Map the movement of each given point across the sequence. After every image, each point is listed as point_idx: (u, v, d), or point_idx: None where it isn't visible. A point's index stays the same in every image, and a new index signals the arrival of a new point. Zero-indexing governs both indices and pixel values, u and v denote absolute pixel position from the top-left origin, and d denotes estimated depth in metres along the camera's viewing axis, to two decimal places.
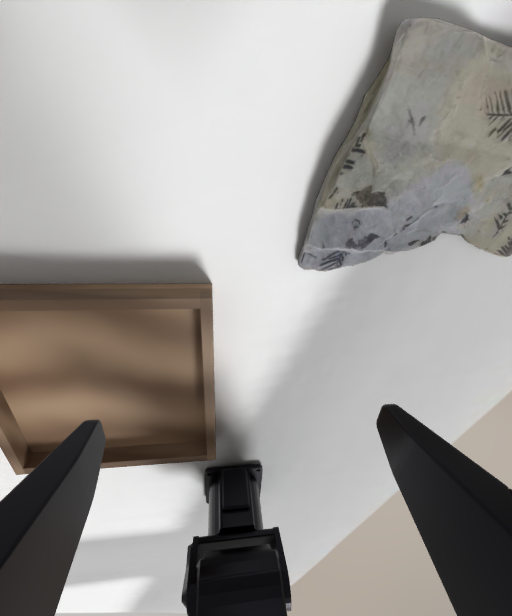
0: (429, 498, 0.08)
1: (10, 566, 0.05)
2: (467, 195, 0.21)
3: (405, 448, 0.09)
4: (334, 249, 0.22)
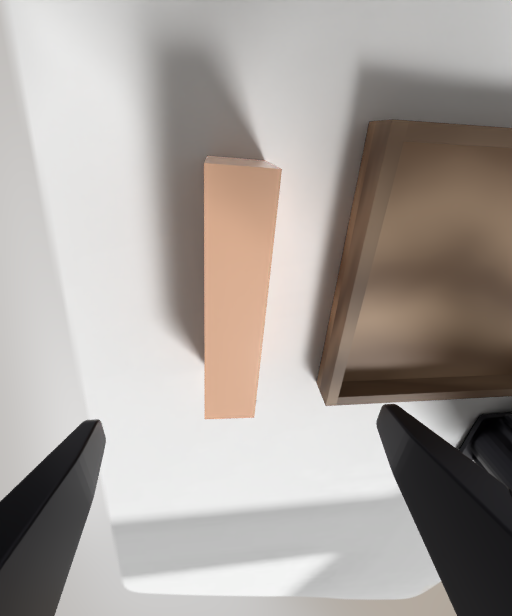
0: (429, 498, 0.08)
1: (10, 566, 0.05)
2: None
3: (405, 448, 0.09)
4: None
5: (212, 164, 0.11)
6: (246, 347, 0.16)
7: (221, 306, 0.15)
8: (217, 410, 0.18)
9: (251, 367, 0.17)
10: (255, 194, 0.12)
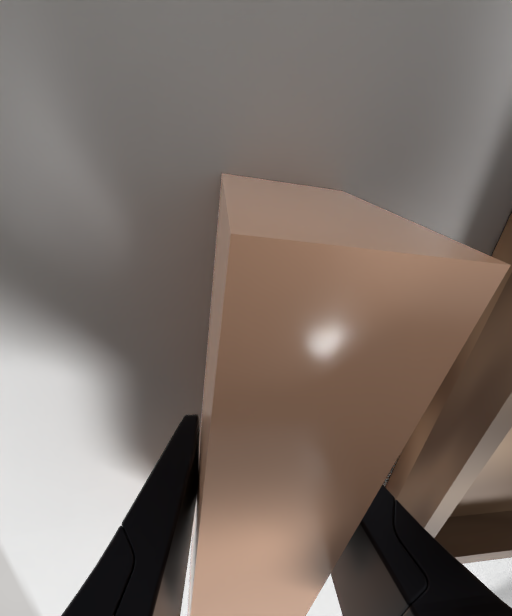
0: None
1: (172, 548, 0.06)
2: None
3: None
4: None
5: (264, 240, 0.03)
6: (284, 600, 0.07)
7: (238, 555, 0.06)
8: None
9: None
10: (395, 337, 0.04)
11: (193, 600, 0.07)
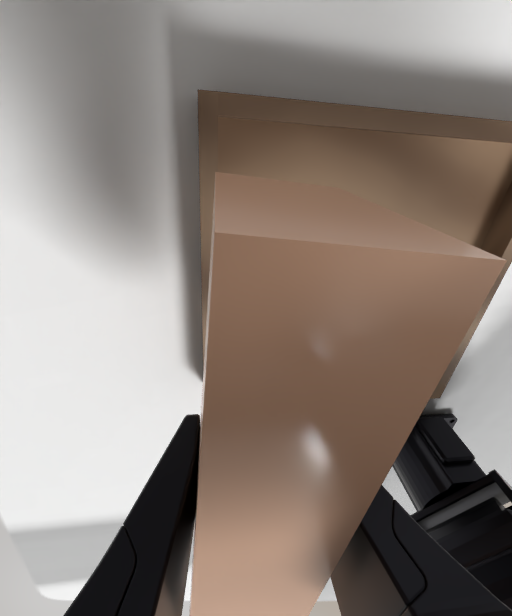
0: None
1: (174, 548, 0.06)
2: None
3: None
4: None
5: (249, 238, 0.03)
6: (285, 602, 0.07)
7: (236, 558, 0.06)
8: None
9: None
10: (389, 336, 0.03)
11: (192, 603, 0.07)
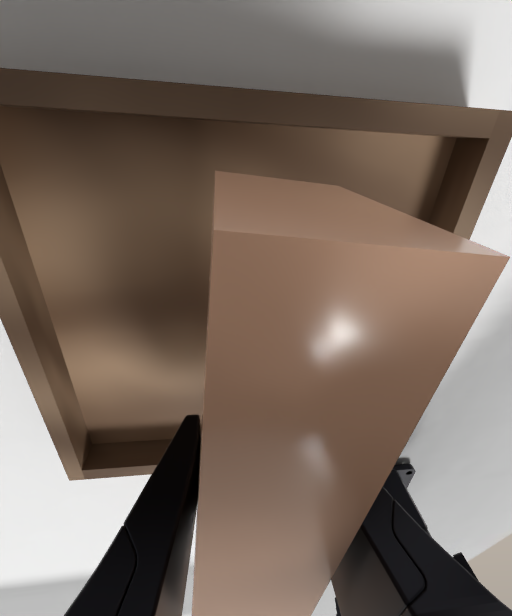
0: None
1: (174, 548, 0.06)
2: None
3: None
4: None
5: (249, 236, 0.03)
6: (287, 602, 0.07)
7: (238, 559, 0.06)
8: None
9: None
10: (391, 334, 0.03)
11: (194, 604, 0.07)
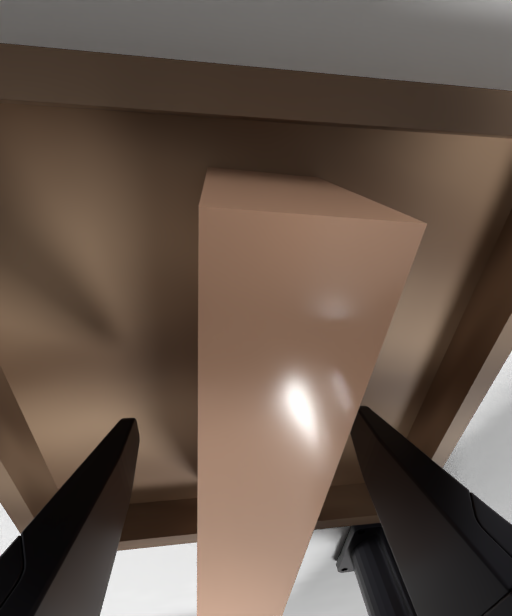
0: (394, 501, 0.08)
1: (70, 559, 0.06)
2: None
3: (373, 450, 0.09)
4: None
5: (225, 211, 0.04)
6: (280, 544, 0.08)
7: (234, 496, 0.07)
8: (219, 615, 0.10)
9: (286, 566, 0.09)
10: (341, 288, 0.04)
11: (198, 542, 0.08)
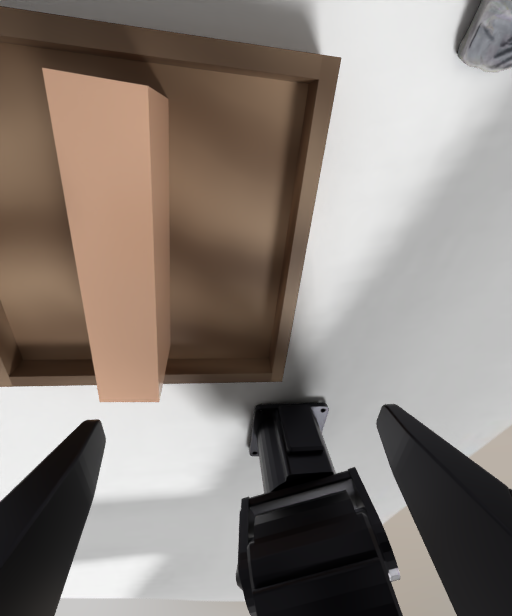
0: (429, 498, 0.08)
1: (10, 566, 0.05)
2: None
3: (405, 448, 0.09)
4: None
5: (54, 71, 0.09)
6: (137, 317, 0.14)
7: (97, 264, 0.12)
8: (113, 392, 0.16)
9: (147, 342, 0.14)
10: (118, 118, 0.10)
11: (84, 305, 0.13)
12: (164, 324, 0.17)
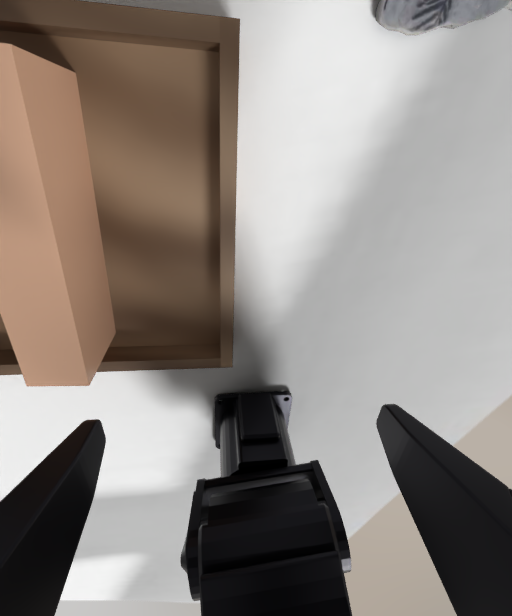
0: (429, 498, 0.08)
1: (10, 566, 0.05)
2: None
3: (405, 448, 0.09)
4: None
5: None
6: (48, 295, 0.13)
7: None
8: (39, 375, 0.15)
9: (64, 321, 0.14)
10: None
11: None
12: (94, 307, 0.17)
